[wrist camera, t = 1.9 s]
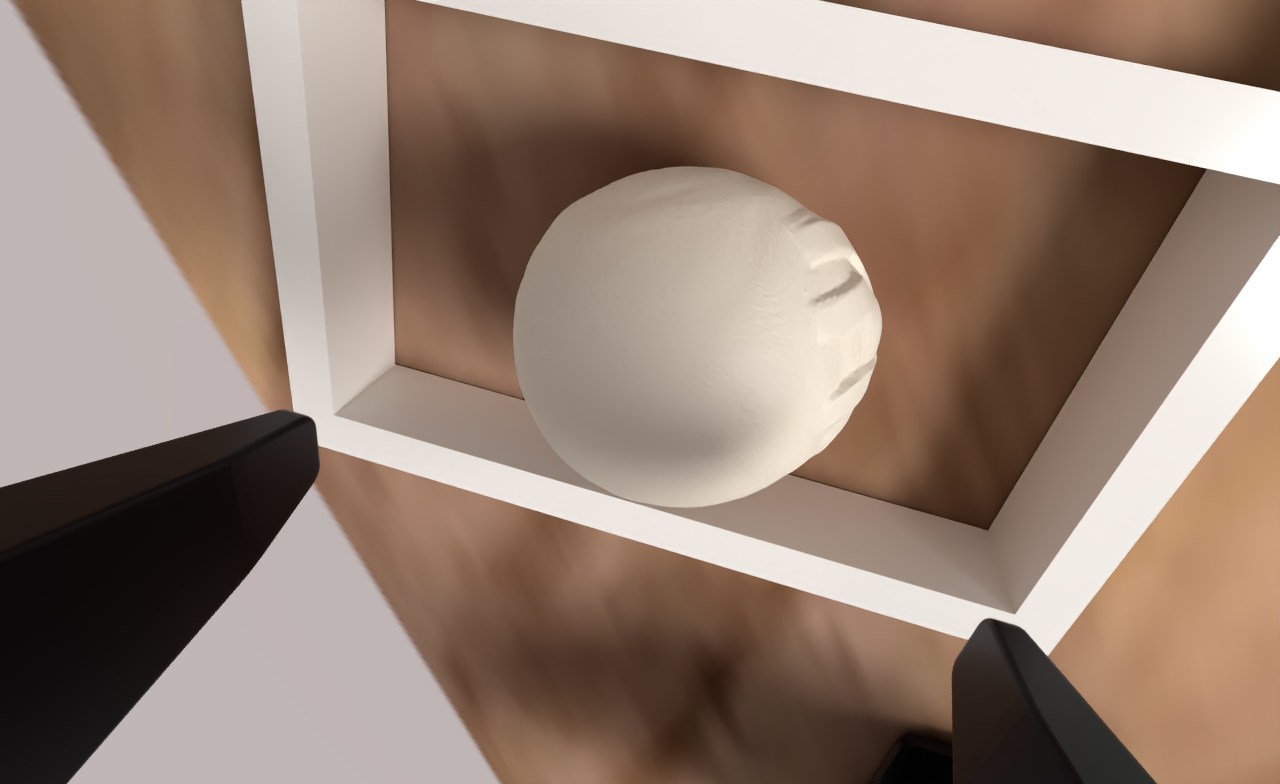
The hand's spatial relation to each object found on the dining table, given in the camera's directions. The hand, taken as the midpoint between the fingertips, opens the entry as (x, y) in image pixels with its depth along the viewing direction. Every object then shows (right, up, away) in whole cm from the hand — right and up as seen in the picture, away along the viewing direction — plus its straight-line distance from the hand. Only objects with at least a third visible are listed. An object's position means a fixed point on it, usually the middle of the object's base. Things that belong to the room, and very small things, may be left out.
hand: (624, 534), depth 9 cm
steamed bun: (+2, +5, +8) cm, 10 cm away
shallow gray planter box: (+2, +5, +8) cm, 9 cm away
